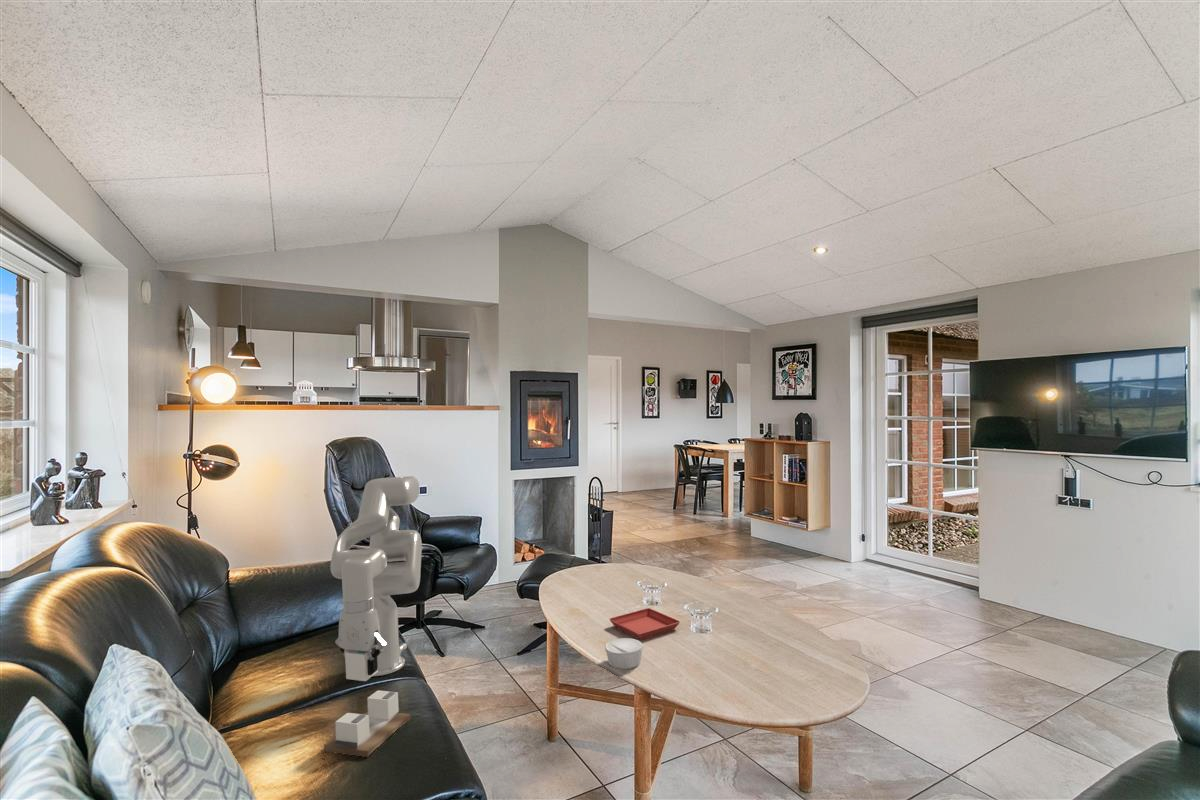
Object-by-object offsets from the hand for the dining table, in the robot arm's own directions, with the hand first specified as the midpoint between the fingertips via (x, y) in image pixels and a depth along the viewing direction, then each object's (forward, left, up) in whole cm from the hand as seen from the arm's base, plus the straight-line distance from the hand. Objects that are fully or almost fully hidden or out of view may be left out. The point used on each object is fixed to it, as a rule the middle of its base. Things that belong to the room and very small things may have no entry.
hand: (362, 670), depth 151 cm
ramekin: (-39, +62, -10) cm, 74 cm away
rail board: (+11, +10, -10) cm, 18 cm away
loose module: (0, 0, -1) cm, 1 cm away
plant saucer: (-66, +62, -10) cm, 92 cm away
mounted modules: (+11, +10, -8) cm, 17 cm away
